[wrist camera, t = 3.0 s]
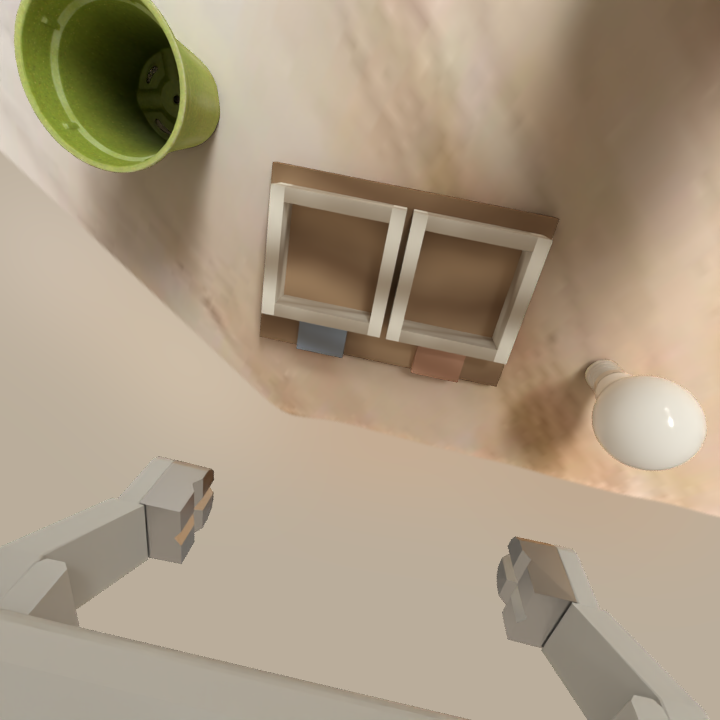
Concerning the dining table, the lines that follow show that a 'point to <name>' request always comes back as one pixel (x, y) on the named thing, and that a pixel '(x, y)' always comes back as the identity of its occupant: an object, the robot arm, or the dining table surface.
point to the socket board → (398, 273)
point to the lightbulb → (644, 418)
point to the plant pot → (112, 81)
